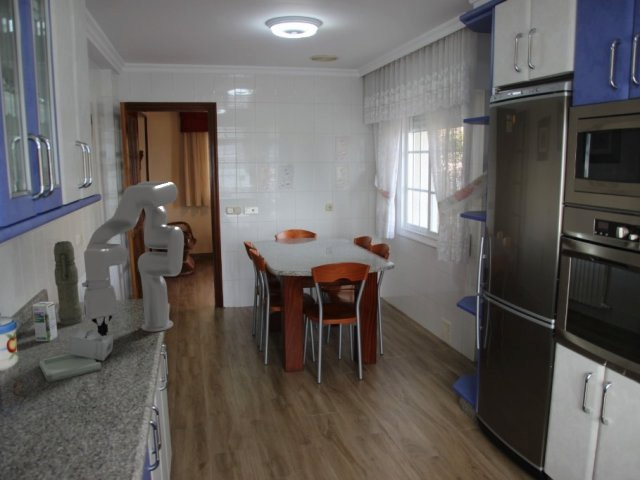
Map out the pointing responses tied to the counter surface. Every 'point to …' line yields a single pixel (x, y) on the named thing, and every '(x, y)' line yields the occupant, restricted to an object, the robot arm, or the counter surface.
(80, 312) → the stone figurine
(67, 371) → the tray
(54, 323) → the syrup box
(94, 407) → the counter surface
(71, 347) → the supplement box
